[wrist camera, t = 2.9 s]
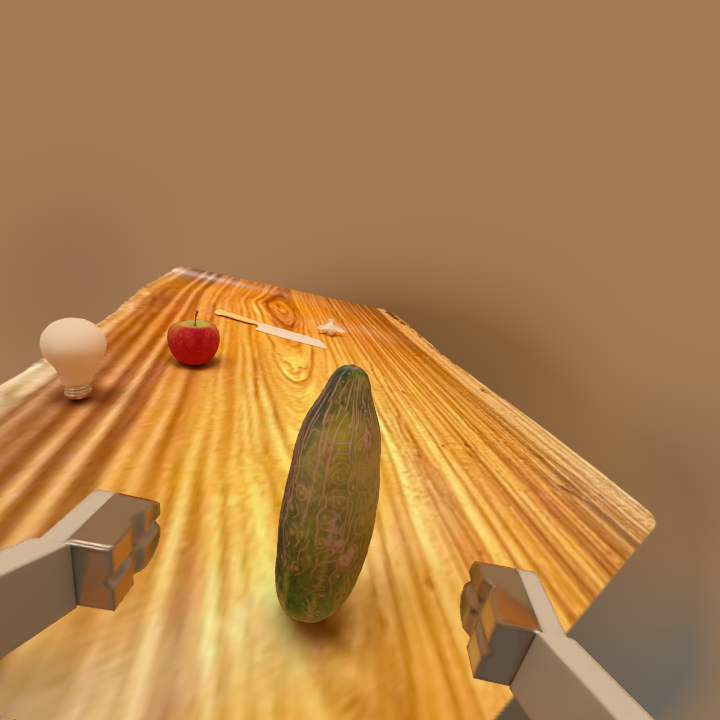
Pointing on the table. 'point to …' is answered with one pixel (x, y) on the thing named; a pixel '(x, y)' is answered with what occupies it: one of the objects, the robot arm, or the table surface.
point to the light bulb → (74, 353)
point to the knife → (275, 330)
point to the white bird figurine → (330, 327)
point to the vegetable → (329, 499)
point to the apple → (193, 341)
